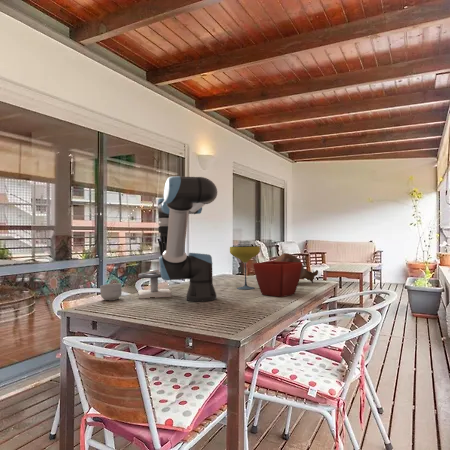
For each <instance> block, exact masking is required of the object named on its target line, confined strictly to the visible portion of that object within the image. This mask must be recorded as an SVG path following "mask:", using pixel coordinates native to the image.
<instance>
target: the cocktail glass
mask: <svg viewBox="0 0 450 450" xmlns="http://www.w3.org/2000/svg"><path fill="white" fill-rule="evenodd" d="M229 253H230V255H231V256H234V257H235V258H237V259H238V260H240V261H241V262H242V263H243V264H244V285H243V286H239V287H236V290H240V291H241V290H242V291H243V290H244V291H246V290H255V286H250V285H248V283H247V282H248V281H247V263H248V262H249V261H250V260H251V259H253V258H254V257H256V256H258V255H259V254H260V253H261V247H260V246H259V245H240V246H229Z"/></svg>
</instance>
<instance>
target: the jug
mask: <svg viewBox="0 0 450 450" xmlns="http://www.w3.org/2000/svg"><path fill="white" fill-rule="evenodd" d="M274 261H280V262H302V261H301V260H300V259H299V258H298V257H297V256H295V255H293V254H291V253H288V252H287V253H282V254H280V255H279V257H277V258H276V259H274ZM318 275H319V270H318V269H316V270H315V271H313V272H312V271H309V270H307V269H305V267H304V264H303V263H302V268H301V274H300V278H299V281H300V279H301V280H302V279H306V280H308V281H310V282H311V283H312V284H313V283H314V280H315V277H317V276H318Z"/></svg>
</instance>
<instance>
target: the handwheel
mask: <svg viewBox="0 0 450 450" xmlns="http://www.w3.org/2000/svg"><path fill="white" fill-rule="evenodd" d="M137 276H138V278H139V279H150V278H158V279H160V278H161V279H162V277H161V273H160V269H149V271H145V272H143V273H138V275H137Z"/></svg>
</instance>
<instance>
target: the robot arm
mask: <svg viewBox="0 0 450 450" xmlns="http://www.w3.org/2000/svg"><path fill="white" fill-rule="evenodd" d="M217 196H218V188H217V185H216V184H215V183H214V182H213V181H212V180H211V179H209V178H207V177H204V176H180V175H177V176H176V175H175V176H169V177H167V179H166V181H165V184H164V187H163V197H161V198H158V199H157V213H158V214H157V215H158V217H157V221H158V227H157V228H158V234H160V235H159V238H157V242H158V248H159V253H160V256H159V257H158V266H159V272H160V273H161V279H162V280H163V281H174V280H175V281H179V280H188V281H189V285H188V288H187V292H186V296H185V297H186V299H185V300H186V301H189V302H209V301H215V300H217V292H216V289H215V287H214V286H215V285H214V283H213V257H212V256H211V255H210V254H207V253H206V254H205V253H199V252H196V253H195V252H189V253H188V255H187V253H186V252H185V248H186V238H187V231H188V230H187V229H188V222H189V221H188V220H189V215H200V214H201V213H202V211H203V207H204V206H205V205H208V204H211V203H213V202H214V201H215V200H216V199H217Z"/></svg>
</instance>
